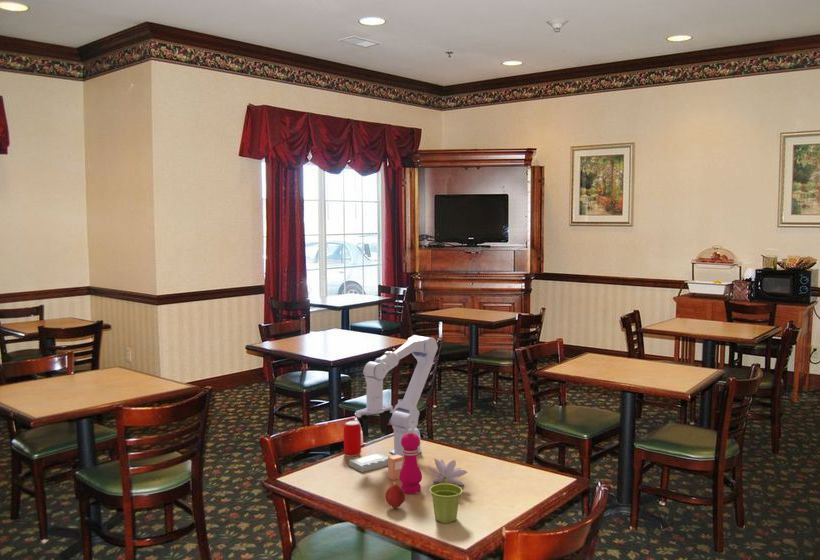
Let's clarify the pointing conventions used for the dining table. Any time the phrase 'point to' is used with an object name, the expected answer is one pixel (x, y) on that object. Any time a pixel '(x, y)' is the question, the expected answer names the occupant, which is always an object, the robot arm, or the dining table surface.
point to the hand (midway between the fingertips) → (374, 434)
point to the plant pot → (445, 501)
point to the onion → (395, 495)
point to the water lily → (447, 472)
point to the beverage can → (352, 438)
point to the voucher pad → (369, 462)
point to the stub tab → (394, 466)
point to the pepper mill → (410, 464)
